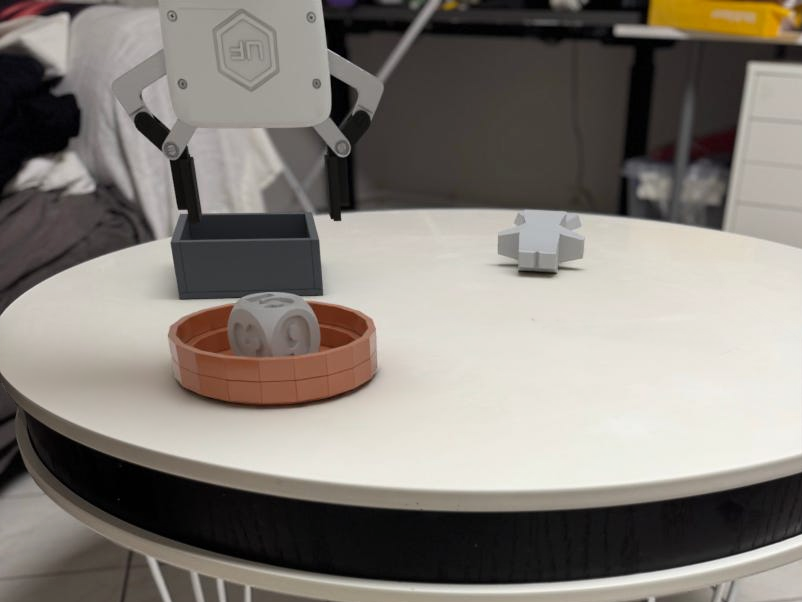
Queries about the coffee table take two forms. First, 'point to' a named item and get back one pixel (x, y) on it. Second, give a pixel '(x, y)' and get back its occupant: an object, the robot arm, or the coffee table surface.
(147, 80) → the robot arm
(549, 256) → the grey angular piece
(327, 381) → the bowl
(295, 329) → the die
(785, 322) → the coffee table surface
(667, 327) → the coffee table surface
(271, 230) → the bin
